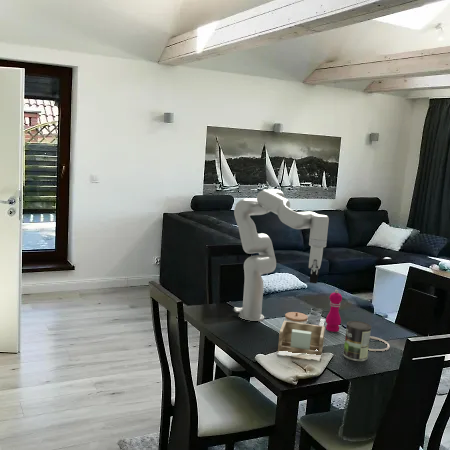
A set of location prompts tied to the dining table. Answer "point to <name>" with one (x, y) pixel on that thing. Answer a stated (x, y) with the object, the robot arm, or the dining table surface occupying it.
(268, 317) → the dining table surface
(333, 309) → the pepper mill
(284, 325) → the cabinet frame
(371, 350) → the hand towel holder
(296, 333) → the rectangular block
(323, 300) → the dining table surface
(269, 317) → the dining table surface
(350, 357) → the coffee can
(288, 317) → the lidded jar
